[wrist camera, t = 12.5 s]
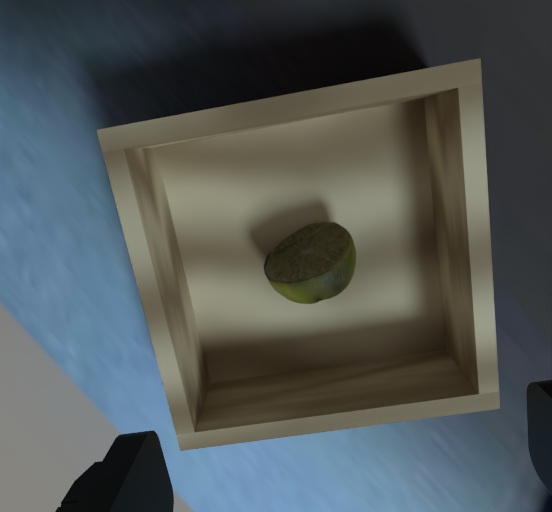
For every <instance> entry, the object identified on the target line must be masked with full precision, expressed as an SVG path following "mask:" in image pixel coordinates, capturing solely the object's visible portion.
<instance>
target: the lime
mask: <svg viewBox="0 0 552 512" xmlns="http://www.w3.org/2000/svg"><path fill="white" fill-rule="evenodd" d="M355 266H356V249H355V245H354V241H353V239H352V236H351V235H350V233H349V232H348V231H347V229H346V228H344V227H342V226H341V225H339V224H337V223H335V222H326V221H323V222H319V223H318V222H317V223H312V224H309V225H306V226H304V227H303V228H301V229H299V230H297V231H295V232H294V233H292V234H291V235H289V236H288V237H286V238H284V239H283V240H282V241H281V242H280V243H279V244H278V245H277V246H276V247H275V248H274V250H273V251H271V252H270V253H269V254H268V255H267V257H266V260H265V264H264V272H265V275H266V277H267V279H268V281H269V283H270V284H271V286H272V287H273V288H274V289H275V291H276V292H278V293H279V294H281V295H282V296H284V297H285V298H286V299H288V300H290V301H293V302H296V303H300V304H314V303H317V302H319V301H322V300H326V299H330V298H332V297H334V296H337V295H338V294H340V293H341V292H342V291H343V290H344V289H346V287H347V286H348V285H349V283H350V281H351V279H352V277H353V275H354V271H355Z"/></svg>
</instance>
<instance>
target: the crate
mask: <svg viewBox="0 0 552 512" xmlns="http://www.w3.org/2000/svg"><path fill="white" fill-rule="evenodd" d="M97 133H98V137H99V141H100V145H101V149H102V153H103V156H104V160H105V164H106V168H107V172H108V176H109V179H110V183H111V187H112V191H113V195H114V198H115V202H116V206H117V210H118V214H119V218H120V221H121V225H122V229H123V233H124V237H125V240H126V244H127V248H128V252H129V256H130V260H131V263H132V267H133V271H134V275H135V279H136V283H137V286H138V290H139V294H140V298H141V302H142V305H143V309H144V313H145V317H146V321H147V325H148V328H149V332H150V336H151V340H152V344H153V347H154V351H155V355H156V359H157V363H158V367H159V370H160V374H161V378H162V382H163V386H164V390H165V393H166V397H167V401H168V405H169V409H170V412H171V416H172V420H173V424H174V428H175V432H176V435H177V439H178V443H179V447H180V451H182V450H190V449H198V448H205V447H213V446H220V445H228V444H235V443H243V442H251V441H258V440H266V439H273V438H281V437H288V436H296V435H304V434H311V433H319V432H326V431H334V430H342V429H349V428H357V427H364V426H372V425H379V424H387V423H395V422H402V421H410V420H417V419H425V418H432V417H440V416H448V415H455V414H463V413H470V412H478V411H485V410H493V409H500V400H499V382H498V364H497V346H496V328H495V310H494V292H493V274H492V256H491V238H490V220H489V203H488V185H487V167H486V149H485V131H484V113H483V95H482V77H481V59H475V60H469V61H464V62H458V63H453V64H448V65H442V66H437V67H432V68H426V69H421V70H415V71H410V72H405V73H399V74H394V75H389V76H383V77H378V78H372V79H367V80H362V81H356V82H351V83H346V84H340V85H335V86H330V87H324V88H319V89H313V90H308V91H303V92H297V93H292V94H287V95H281V96H276V97H270V98H265V99H260V100H254V101H249V102H244V103H238V104H233V105H227V106H222V107H217V108H211V109H206V110H201V111H195V112H190V113H185V114H179V115H174V116H168V117H163V118H158V119H152V120H147V121H142V122H136V123H131V124H125V125H120V126H115V127H109V128H104V129H99V130H97ZM323 221H326V222H335V223H337V224H339V225H341V226H342V227H344V228H346V229H347V231H348V232H349V233H350V235H351V236H352V239H353V241H354V245H355V249H356V266H355V271H354V275H353V277H352V279H351V281H350V283H349V285H348V286H347V287H346V289H344V290H343V291H342V292H341V293H340V294H338V295H337V296H334V297H332V298H330V299H326V300H322V301H319V302H317V303H314V304H300V303H296V302H293V301H290V300H288V299H286V298H285V297H284V296H282V295H281V294H279V293H278V292H276V291H275V289H274V288H273V287H272V286H271V284H270V283H269V281H268V279H267V277H266V275H265V272H264V264H265V260H266V257H267V255H268V254H269V253H270V252H271V251H273V250H274V248H275V247H276V246H277V245H278V244H279V243H280V242H281V241H282V240H283V239H284V238H286V237H288V236H289V235H291V234H292V233H294V232H295V231H297V230H299V229H301V228H303V227H304V226H306V225H309V224H312V223H317V222H318V223H319V222H323Z"/></svg>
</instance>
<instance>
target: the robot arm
mask: <svg viewBox="0 0 552 512" xmlns="http://www.w3.org/2000/svg"><path fill="white" fill-rule="evenodd" d="M527 418H528V446H529V453H530V457H531V460H532V463H533V466H534V468H535V470H536V472H537V474H538V476H539V478H540V479H541V481H542V482H543V484H544V485H545V486H546V488H547V489H548V490H549V492H550V493H551V495H552V380H548V381H540V382H532V383H530V384H529V385H528V387H527ZM173 499H174V498H173V489H172V485H171V481H170V477H169V474H168V470H167V466H166V463H165V459H164V456H163V452H162V448H161V445H160V441H159V438H158V436H157V434H156V432H155V431H145V432H138V433H130V434H122V435H119V436H118V437H117V438H116V439H115V441H114V442H113V444H112V446H111V447H110V449H109V451H108V453H107V454H106V456H105V458H104V459H103V461H102V462H95V463H94V464H93V465H92V466H91V467H90V468H88V469H87V470H86V471H85V472H84V473H83V474H82V475H81V476H80V477H79V478H78V479H77V480H76V481H75V482H74V483H73V485H72V486H71V488H70V490H69V491H68V493H67V494H66V496H65V497H64V499H63V501H62V502H61V507H58V508H57V510H56V512H173V504H174V503H173V502H174V500H173Z"/></svg>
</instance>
